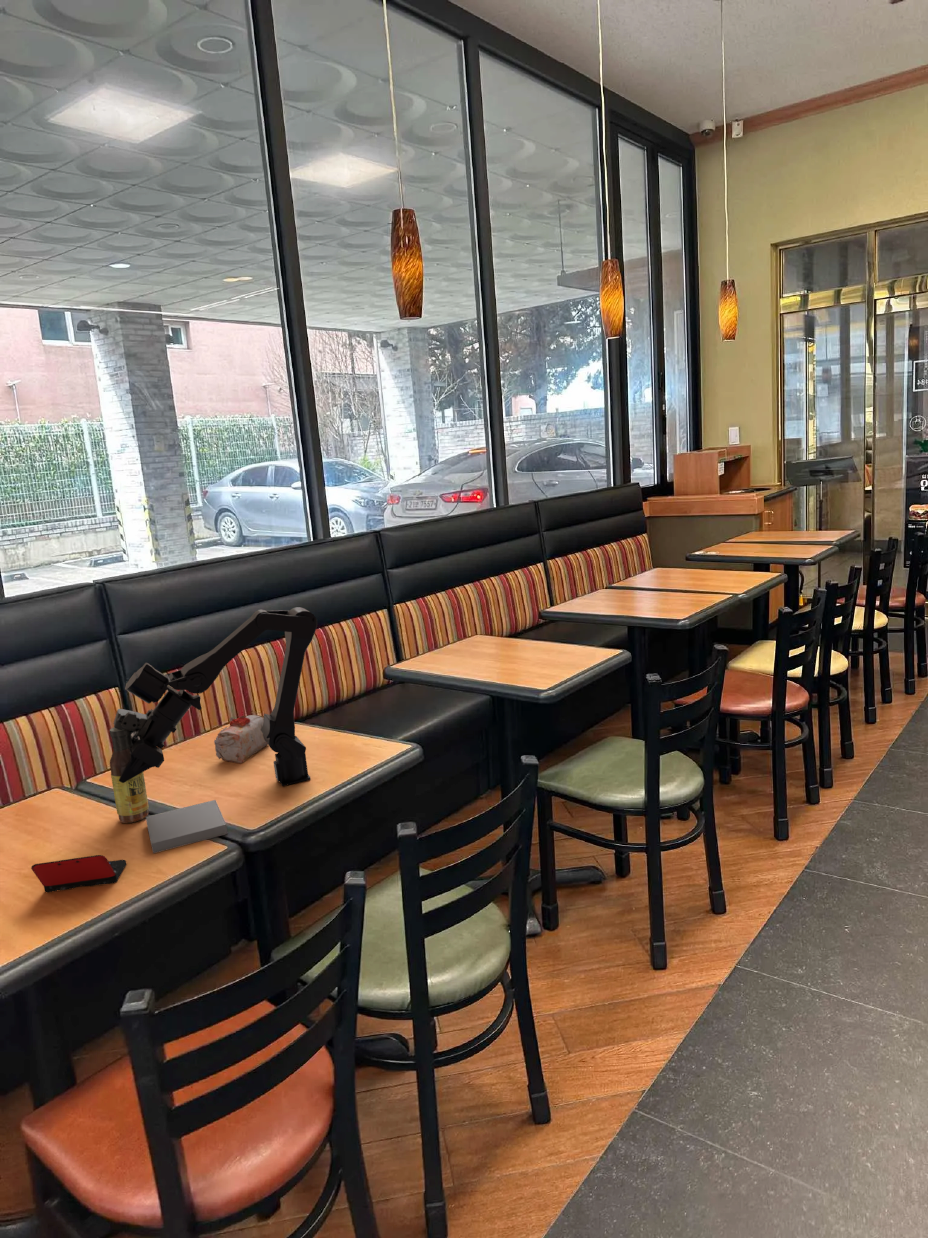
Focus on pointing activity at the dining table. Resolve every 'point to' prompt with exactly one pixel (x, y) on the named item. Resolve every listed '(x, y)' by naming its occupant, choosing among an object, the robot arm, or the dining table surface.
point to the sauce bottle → (133, 791)
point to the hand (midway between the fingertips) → (120, 776)
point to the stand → (185, 826)
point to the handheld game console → (78, 872)
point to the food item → (240, 739)
